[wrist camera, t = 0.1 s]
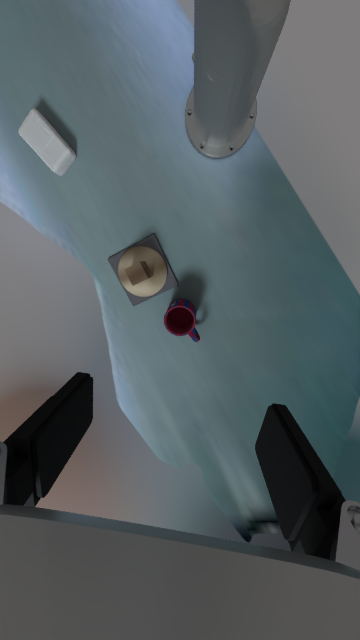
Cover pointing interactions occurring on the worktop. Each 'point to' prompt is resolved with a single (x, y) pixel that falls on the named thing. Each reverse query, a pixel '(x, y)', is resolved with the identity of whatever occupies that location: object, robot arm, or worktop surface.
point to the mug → (181, 319)
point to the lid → (142, 271)
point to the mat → (153, 244)
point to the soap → (47, 142)
